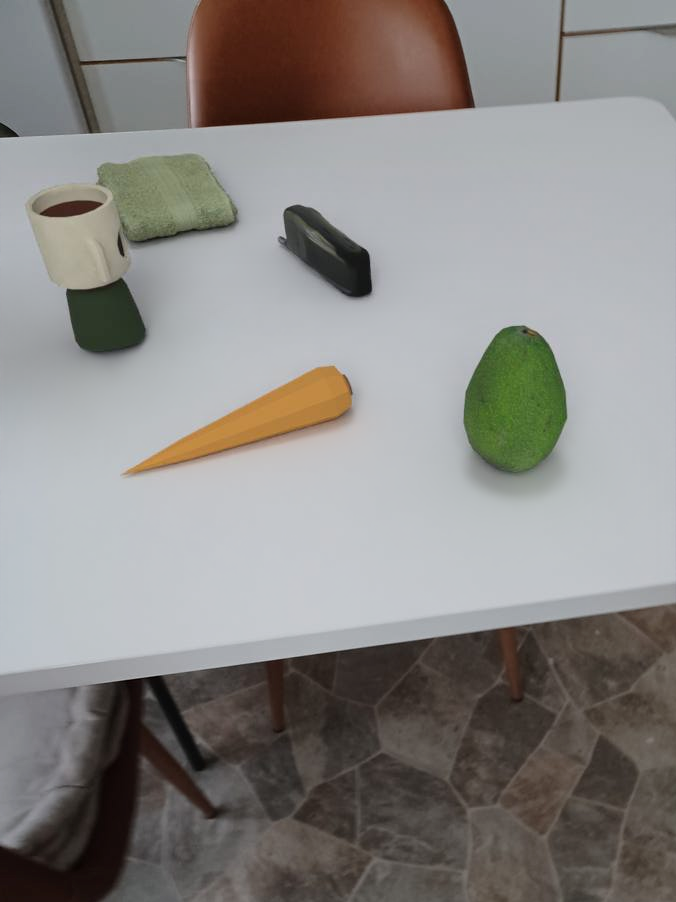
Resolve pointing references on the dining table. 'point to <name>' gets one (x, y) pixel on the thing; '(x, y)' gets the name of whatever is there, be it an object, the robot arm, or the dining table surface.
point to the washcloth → (166, 195)
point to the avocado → (515, 401)
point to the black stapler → (327, 250)
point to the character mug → (88, 262)
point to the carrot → (265, 417)
